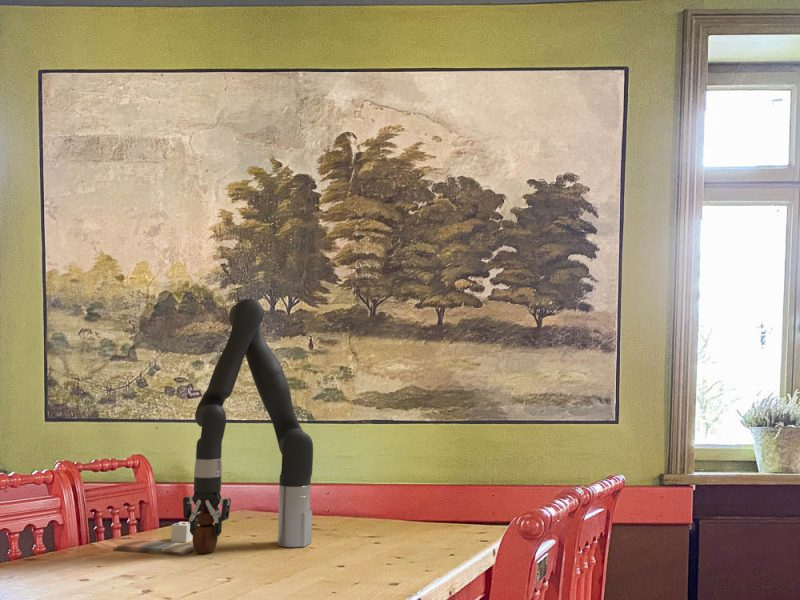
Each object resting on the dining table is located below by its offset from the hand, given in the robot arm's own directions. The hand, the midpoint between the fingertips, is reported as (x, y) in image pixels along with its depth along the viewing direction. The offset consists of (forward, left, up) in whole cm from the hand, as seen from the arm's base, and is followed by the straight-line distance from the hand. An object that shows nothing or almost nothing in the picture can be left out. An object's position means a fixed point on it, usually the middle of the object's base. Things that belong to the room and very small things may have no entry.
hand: (205, 535), depth 192 cm
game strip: (+15, 0, -5) cm, 16 cm away
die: (+14, -12, -5) cm, 19 cm away
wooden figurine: (0, 0, -5) cm, 5 cm away
